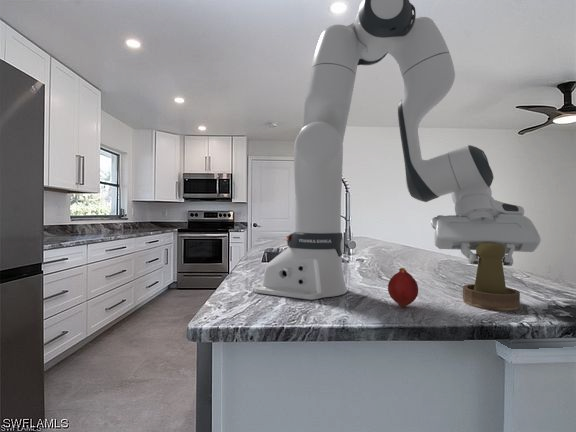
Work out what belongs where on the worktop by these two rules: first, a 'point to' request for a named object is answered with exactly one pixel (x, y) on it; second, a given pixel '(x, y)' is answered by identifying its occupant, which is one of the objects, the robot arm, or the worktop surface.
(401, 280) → the onion
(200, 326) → the worktop surface
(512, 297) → the spice holder
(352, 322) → the worktop surface
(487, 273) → the cork
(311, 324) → the worktop surface
